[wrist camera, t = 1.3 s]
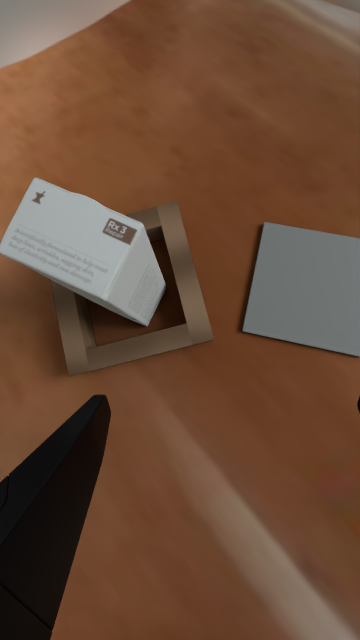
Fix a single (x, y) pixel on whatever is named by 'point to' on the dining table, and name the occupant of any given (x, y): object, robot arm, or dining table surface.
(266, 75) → the dining table surface
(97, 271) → the skincare box
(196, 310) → the walnut collar
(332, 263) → the grey mat
